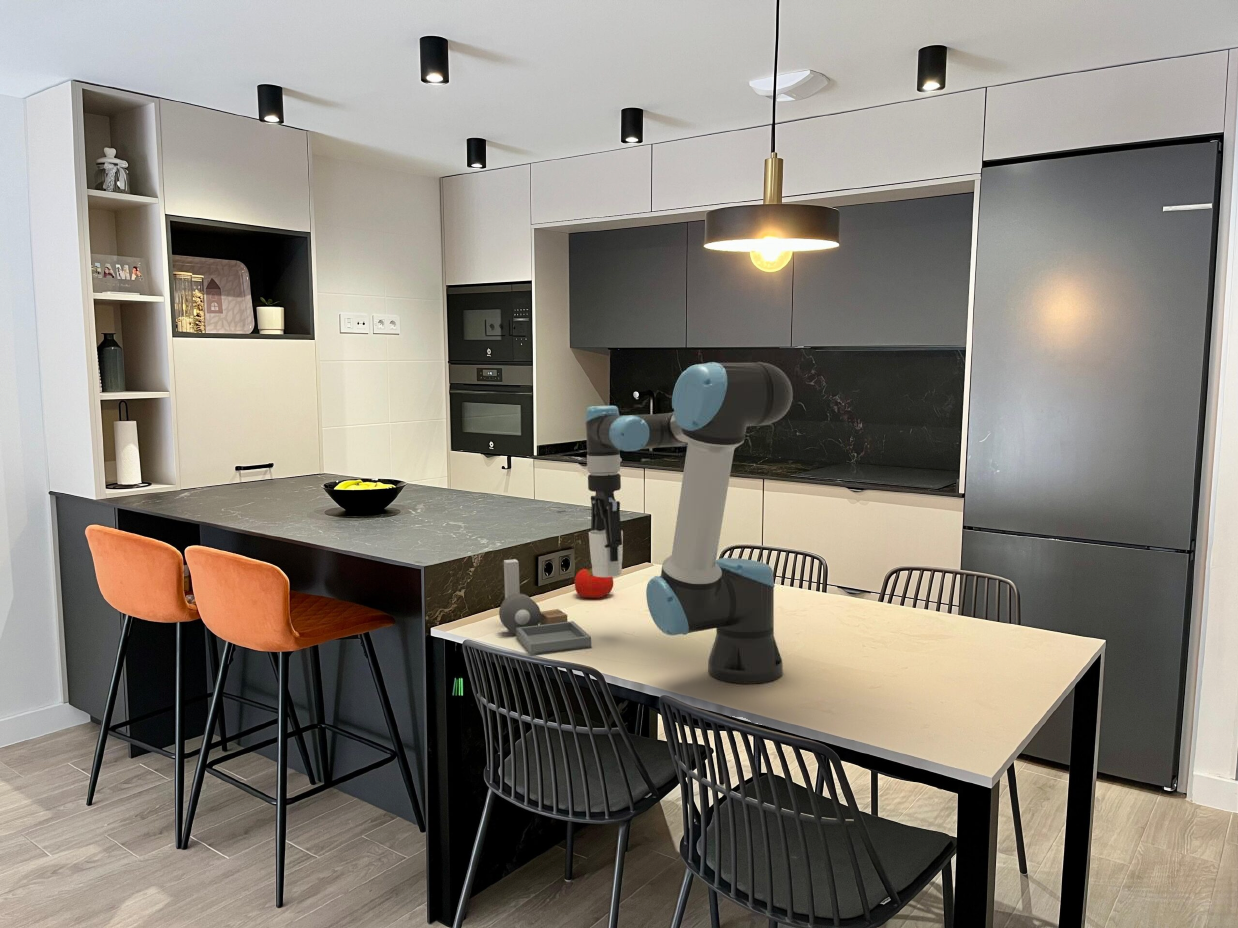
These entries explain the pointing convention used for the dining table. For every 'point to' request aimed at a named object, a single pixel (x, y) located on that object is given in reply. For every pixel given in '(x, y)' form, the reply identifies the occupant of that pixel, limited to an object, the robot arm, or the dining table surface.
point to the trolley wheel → (516, 601)
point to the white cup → (601, 553)
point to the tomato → (592, 584)
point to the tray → (553, 638)
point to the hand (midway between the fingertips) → (607, 571)
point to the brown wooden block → (552, 617)
